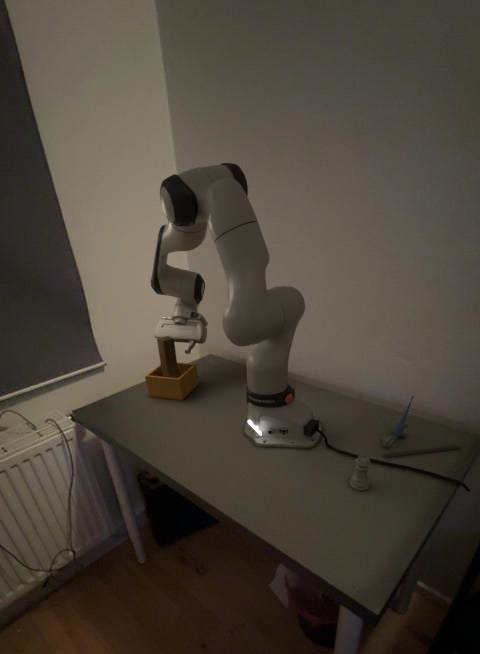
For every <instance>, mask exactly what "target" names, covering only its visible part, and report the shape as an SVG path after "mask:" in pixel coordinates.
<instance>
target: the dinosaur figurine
mask: <svg viewBox="0 0 480 654" xmlns="http://www.w3.org/2000/svg"><path fill="white" fill-rule="evenodd" d="M413 399H414V396H413V395H412V396H411V398H410V401H409V403H408V405H407V407H406V409H405V410H404V412H403V414H402V416H401V417H400V419H399V421H397V422H396V423H395V424H394V425H395V426H394V427H393V430H392V433H391V435H389V436H385V435H384V436H383V437H381V439H380V440H381V445H382V446H383V447H386V449H388V448H389V447H390V446H391V445H392V443H394V441H396V440H397V439H399V438H404V437H405V433H406V428H408V427H409V424H407V423H406V421H407V416H408V413H409V409H410V407H411V404H412V401H413ZM405 423H406V424H405Z"/></svg>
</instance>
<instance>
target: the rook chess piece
mask: <svg viewBox="0 0 480 654" xmlns="http://www.w3.org/2000/svg"><path fill="white" fill-rule="evenodd" d="M369 458H370V457H369V456H367V455H366V454H363V455H362V454H359V456H358V458H355V463H356V464H355V471H354V473H353V474H352V475H351V477H350V480H349V485H350V487H351V488H352V489H354V490H356V491H358V492H360V491H361V492H362V491H367V490H368V489H369V488H370V483H371V482H370V478H369V475H368V470H369V469H370V465H371V464H372V462H371V461H370V459H371V458H370V459H369Z"/></svg>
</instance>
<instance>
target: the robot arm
mask: <svg viewBox="0 0 480 654" xmlns="http://www.w3.org/2000/svg"><path fill="white" fill-rule="evenodd" d="M248 195H249V186H248V180H247V177H246V175H245V173H244V170H242V168H241V167H240V165H238V164H237V163H233V162H222V163H220V164H216V165H215V164H214V165H207V166H206V165H205V166H202V167H201V166H198V167H194V168H190V169H188V170H186V171H182V172H181V173H177V174H176V173H174V174H172V175H170V176H167V177H166V178H165V179H163V180H162V181H161V184H160V187H159V200H160V205H161V209H162V210H163V214H164V215H165V217H166V219H167V220H168V221H167V223H165V224H163V225H161V227H160V228H159V230H158V234H157V237H156V242H155V249H154V257H153V264H152V270H151V274H150V282H149V283H150V287H151V289H152V290H153V291H154V293H155V294H157V295H160V296H168V297H172V298H176V302H175V304H174V306H173V309H172V310H173V311H172V314H171V316H163V317H161V318H159V319H158V321H157V324H156V326H155V329H154V332H153V336H154V338H155V340H157V339H158V338H162V337H166V336H168V337H171V338H174V343H185V344H189V345H188V346H187V347H185V348H184V354H186V355H190V354H191V352H192V350H193V349H194V348H195V346H196V344H200V345H203V344H204V343H206V341H207V338H208V328H207V326H208V325H209V323H208V320H207V319H206V318H205V316H204V315H203V314H202V313H201V312H199V311H198V308H199V306H200V304H201V302H202V301H203V299H204V295H205V290H206V282H205V280H204V278H203V277H202V275H201V274H200V273H199V272H195V271H191V270H189V269H183V268H179V267H175V266H172V265H169V264H168V258H169V254H171V253H176V252H177V253H178V252H190V251H193V250H195V249H197V248H198V247H200V246H201V245H202V244H203V243H204V241H205V239H206V236H207V233H208V232H207V231H208V229H209V231H210V234H211V235H210V236H211V238H212V240H213V244H214V246H215V248H216V251H217V254H218V258H219V259H220V262H221V266H222V268H223V271H224V274H225V279H226V283H227V284H226V285H227V304H226V308H225V309H224V312H223V315H222V320H221V321H222V323H221V324H222V329H223V332H224V334H225V337H226V338H227V339H228V341H230V343H232V344H233V345H234V346H237V347H243V348H244V347H249V346H252V348H251V350H250V352H249V353H248V355H247V358H246V362H245V363H246V364H245V365H246V381H247V383H246V385H245V388H246V389H245V399H246V404H247V412H246V413H247V414H246V420H245V425H244V433H245V434H246V435H247V437H249V438H250V439H252V440H253V442H254V444H255V446H257V447H263V448H264V447H265V448H291V449H292V448H293V449H294V448H295V449H311V448H313V447H315V445H317V443H318V442H319V441H320V439H321V436H322V437H323V439H324V440H323V441H324V444H325V446H326V447H327V448H328V449H329V450H332V451H334V452H336V453H339V454H342V455H346V456H350V457H353V458H355V459H357V458H358V456H360V454H356V453H352V452H348V451H345V450H340V449H337V448H335V447H333V446H331V444H329V442H328V436H327V435H326V434H325V432H323V431H322V430H323V429H322V424H321V422H320V420H319V419H316V418H315V417H314V412H313V410H312V408H311V407H310V406H309V405H307V404H306V403H304V402H303V401H301V400H300V399H299V398H297V397H296V385H293V387H292V386H291V385H290V384H289V383H288V381H289V379H288V378H289V360H290V355H291V354H290V353H291V349H292V346H293V341H294V338H295V334H296V330H297V328H298V325H299V323H300V321H301V319H302V317H303V316H304V314H305V311H306V301H305V298H304V296H303V294H302V293H301V291H300V290H299V289H298V288H296V287H294V286H290V285H289V286H287V285H279V286H273V287H271V288H268V287H267V282H266V281H267V279H266V271H267V267H269V263H270V253H269V250H268V247H267V244H266V241H265V238H264V234H263V232H262V229H261V226H260V224H259V221H258V218H257V215H256V212H255V210H254V208H253V206H252V204H251V201H250V199H249V197H248ZM369 459H370V461H371V463H376V464H380V465H384V466H389V467H395V468H400V469H405V470H409V471H414V472H417V473H421V474H424V475H429V476H432V477H435V478H438V479H441V480H444V481H448V482H450V483H451V482H452V483H455V484H458V485H459V486H461V487H462V488H463V489H464V490H465V491H466V492H468V493H470V492H471V489H470V488H469V486H467V484H466V483H464V482H463V481H461V480H459V479H456V478H453V477H449V476H444V475H442V474H438V473H435V472H433V471H430V470H425V469H421V468H417V467H413V466H409V465H405V464H400V463H393V462H388V461H383V460H379V459H374V458H370V457H369Z"/></svg>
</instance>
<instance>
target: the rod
mask: <svg viewBox="0 0 480 654" xmlns="http://www.w3.org/2000/svg"><path fill="white" fill-rule="evenodd" d="M454 450H455V451H456V450H458V447H457V446H452V447H446V448H437V449H428V450H421V451H412V452H411V451H410V452H403V453H396V454H387V455H385V458H386V459H387V458H396V457H404V456H406V457H407V456H411V455H421V454H431V453H438V452H446V451H454Z"/></svg>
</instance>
